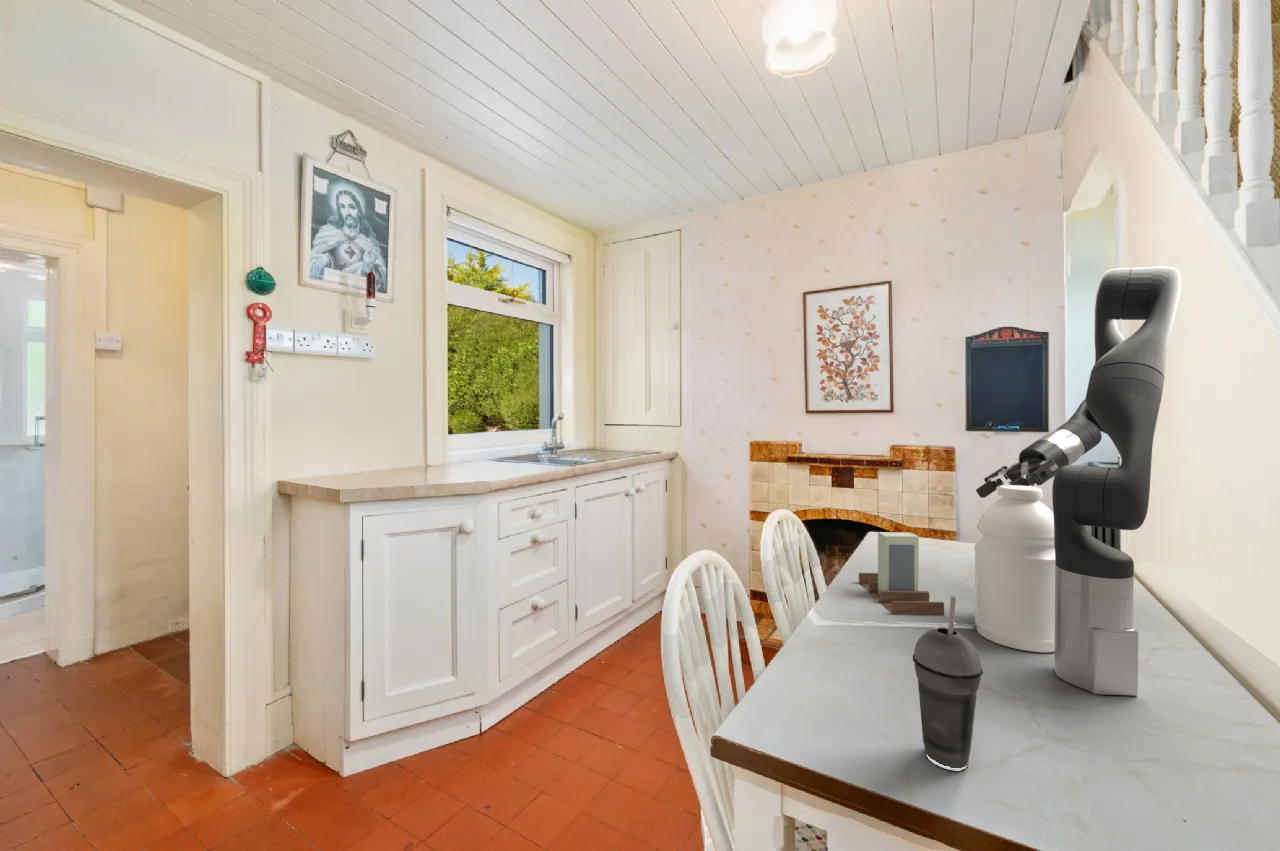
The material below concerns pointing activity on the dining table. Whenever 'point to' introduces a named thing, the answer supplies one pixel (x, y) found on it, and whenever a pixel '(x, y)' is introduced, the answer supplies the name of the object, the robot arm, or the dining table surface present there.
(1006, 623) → the bottle
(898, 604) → the stand
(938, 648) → the beverage cup
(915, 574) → the beige box
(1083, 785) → the dining table surface
